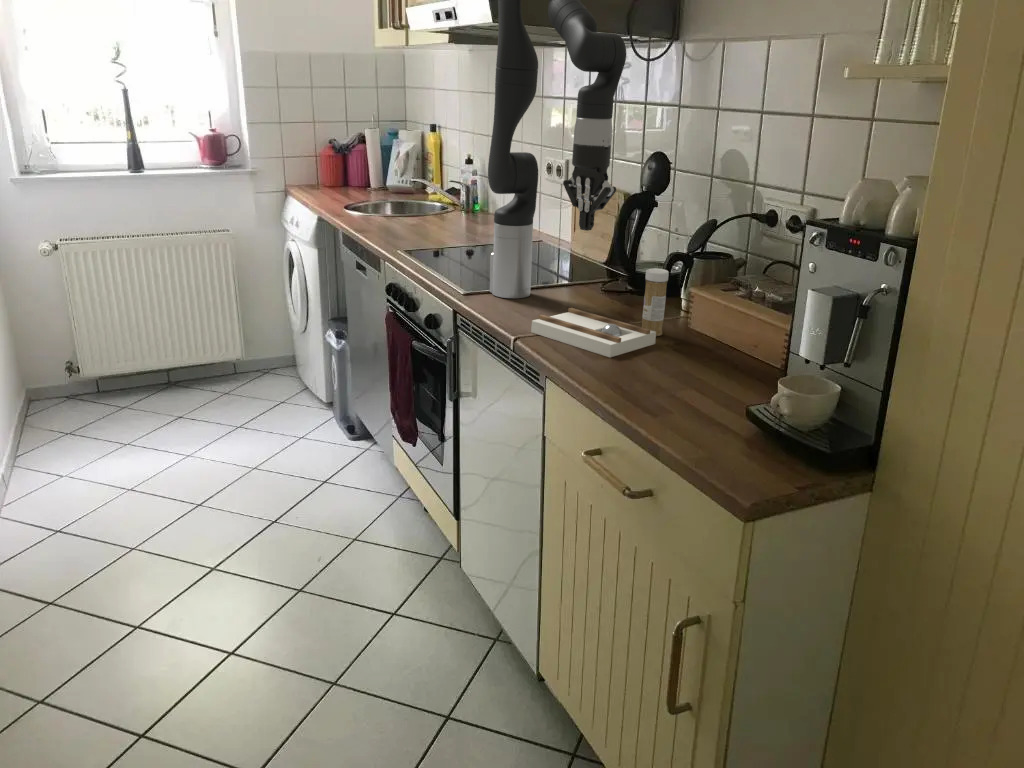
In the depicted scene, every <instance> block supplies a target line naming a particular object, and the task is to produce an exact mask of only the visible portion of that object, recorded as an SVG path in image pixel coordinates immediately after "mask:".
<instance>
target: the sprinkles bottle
mask: <svg viewBox="0 0 1024 768" xmlns="http://www.w3.org/2000/svg"><path fill="white" fill-rule="evenodd" d="M669 273H670V272H669V271H668V270H667V269H664V268H655V267H654V268H649V269H646V270H645V277H644V278H645V288H644V289H645V291H644V296H643V297H644V298H643V309H642V319H641V327H642V328H646V329H649V330H651V331H655V332H656V337H659V336H662V335H663V325H664V317H665V309H666V307H665V306H666V299H667V284H668V281H669Z"/></svg>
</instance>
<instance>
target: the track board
mask: <svg viewBox="0 0 1024 768" xmlns="http://www.w3.org/2000/svg"><path fill="white" fill-rule="evenodd" d="M567 310H568V312H562V313H559V314H555V315H551V316H548V315H545V314H539V315H538V319H533V320H532V319H531V327H530V328H531V329H530V331H531V333H532V334H535V335H539V336H542V337H545V338H548V339H551V340H554V341H557V342H561V343H563V344H566V345H569V346H572V347H576V348H579V349H582V350H584V351H588V352H591V353H594V354H598V355H600V356H604V357H607V358H613V357H616V356H620V355H623V354H626V353H630V352H633V351H636V350H639V349H643V348H645V347H649V346H653V345H656V337H657V336H656V332H655V331H651V330H649V329H646V328H642V326H639V325H634V324H632V323H627V322H625V321H624V322H623V321H620V320H616V319H613V318H609V317H606V316H603V315H599V314H596V313H591V312H588V311H585V310H581V309H577V308H573V307H569V308H568V309H567ZM608 324H615V325H617V326H618V327H619V328H620V329H621V333H622V335H621V336H620V337H616V336H613V335H610V334H606V333H603V332H602V329H603V328H604V327H605V326H606V325H608Z"/></svg>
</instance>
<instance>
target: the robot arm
mask: <svg viewBox="0 0 1024 768" xmlns="http://www.w3.org/2000/svg"><path fill="white" fill-rule="evenodd" d="M547 1H548V5H547V7H548V8H547V13H548V18H549V20H550V21H549V22H550V23H551V26H552V27H553V28H554V30H555V31H556V33H557V34H558V35H559V36H560V37H561V39H562V40H563V41H564V42H565V45H566V48H567V52H568V55H569V58H570V62H571V63H572V64H573V65H574V67H575V68H577V69H579V71H583V72H586V73H597V76H596V77H595V80H594V82H593V83H591V84H588V85H584V86H582V87H580V89H579V90H578V91H577V92H578V94H577V101H576V115H575V116H576V118H575V122H574V123H575V124H574V130H573V143H572V144H573V145H572V159H571V164H572V166H573V167H574V168H573V171H572V173H571V177H569V178H568V179H565V180H563V183H562V184H563V187H564V190H565V192H566V194H567V196H568V198H569V200H570V202H571V205H572V206H573V207H574V208H575V207H576V208H577V209H578V211H579V218H578V227H579V229H580V230H583V231H586V232H587V231H592V230H593V228H594V225H595V214H596V212H597V211H600V210H603V209H604V208H605V207H606V205H607V204H608V203H609V201H610V200H611V199H612V198H613V196H614V195H615V193H616V191H617V187H616V186H612V185H611V183H610V182H609V175H608V168H609V167H610V165H611V154H612V143H613V142H612V138H613V113H614V111H613V110H614V98H615V96H616V92H617V89H618V86H619V83H620V79H621V78H622V77H621V76H622V74H623V70H624V68H625V65H626V59H627V45H626V43H625V41H624V39H623V37H621V35H619V34H617V33H611V32H598V24H597V21H596V19H595V17H594V15H593V14H592V13H591V12H590V11H589V9H587V7H586V6H585V4H583V3H582V2H581V0H547ZM497 2H498V3H497V5H498V7H497V9H498V13H497V14H498V27H497V28H498V29H497V30H498V33H497V50H496V51H497V52H496V62H495V63H496V64H495V66H496V67H495V78H494V79H495V81H494V109H493V110H494V111H493V125H492V133H491V141H490V148H489V155H488V163H487V180H488V185H489V188H490V190H491V191H492V193H494V194H496V195H497V194H498V195H504V194H505V195H510V194H511V195H513V194H514V196H513V198H512V199H511V200H510V201H509V202H508V203H506V204H505V205H503V206H501V207H499V208H497V209H496V210H495V211H494V213H493V215H494V216H493V252H491V253H490V256H489V259H490V260H489V261H490V263H489V293H491V294H492V295H493V296H496V297H498V298H502V299H503V298H504V299H523V298H528V297H529V296H531V287H532V286H531V284H532V283H531V282H532V258H533V231H534V230H533V229H534V217H535V214H536V209H537V206H536V205H537V197H538V195H537V194H538V184H539V165H538V161H537V159H536V156H535V155H534V154H533V153H531V152H526V151H525V152H518V151H517V152H515V151H513V152H511V148H512V142H513V138H514V134H515V131H516V129H517V127H518V125H519V124H520V122H521V120H522V119H523V117H524V116H525V114H526V113H527V111H528V109H529V108H530V106H531V104H532V103H533V101H534V99H535V96H536V94H537V88H538V87H537V86H538V75H539V74H538V73H539V72H538V71H539V58H538V55H537V51H536V49H535V46H534V45H533V42H532V40H531V37H530V35H529V33H528V31H527V28H526V26H525V23H524V19H523V14H522V0H497Z"/></svg>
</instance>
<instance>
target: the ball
mask: <svg viewBox="0 0 1024 768" xmlns="http://www.w3.org/2000/svg"><path fill="white" fill-rule="evenodd" d="M602 332H603V333H606V334H610V335H613V336H616V337H620V336H621V335H622V333H621V329H620V328H619V327H618V326H617V325H615V324H608V325H606V326H605V327H604V328H603V329H602Z"/></svg>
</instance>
